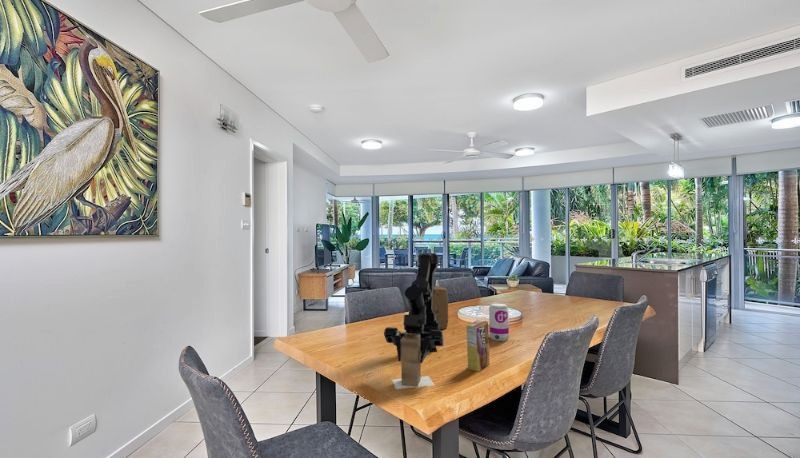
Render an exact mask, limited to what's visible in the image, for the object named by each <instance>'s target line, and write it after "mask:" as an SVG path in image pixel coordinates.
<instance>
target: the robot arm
mask: <svg viewBox="0 0 800 458" xmlns="http://www.w3.org/2000/svg"><path fill="white" fill-rule="evenodd" d="M439 264H440V256H439V255H437V252H421V253H420V254H417V265H418V268H417V273H416V278H415V280H413V281H412V282H411V284H410V286H409V287H407V288H406V290H405V291H404V296H405V297H404V298H405V301H406V305H407V308H408V309H409V310H408V313H407V314H403V324H402V325H403V330H404V332H403V331H400V330H399V329H398V327H391V326H389V327H388V326H387V327H386V328H385V329H384V332H383V337H384V338H385V342H386V343H388V344H392V345H394V346H395V347H396V351H397V357H398V358H397V359H398V362H399V363H400V362H401V339H402V337H403V336H404V335H405V334H410V335H420V363H421V364H423V362H424V360H425V359H426V357H427V356H428V354H429V353H430V352H438V348H437V347H444V333H443V331H442V329H439V324H438V322H437V320H436V316H435V314H434V312H433V310H432V306H433V287H434V276H435V275H434V274H435V273H436V272H437V270H438V269H439V268H438V265H439Z"/></svg>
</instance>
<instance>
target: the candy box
mask: <svg viewBox="0 0 800 458" xmlns="http://www.w3.org/2000/svg"><path fill="white" fill-rule="evenodd" d="M489 338H490V336H489V320H488V321H487V320H482V319H481V320H480V319H478V320H475V321H474V322H470V323H469V324H468V323H467V324H466V347H467V348H466V350H467V351H466V352H467V353H466V354H467V369H468V370H471V371H475V372H478V373H479V372H480V371H482V370H483V369H485V368H486V367H488V366H489V365H491V364H490V363H491V362H490V342H489Z"/></svg>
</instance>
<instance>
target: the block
mask: <svg viewBox="0 0 800 458" xmlns="http://www.w3.org/2000/svg"><path fill="white" fill-rule="evenodd" d="M447 289H448V288H446V287H444V286H433V306H432V310H433V312H434V314H435V316H436V320H437V322H438V324H439V330H445V329H447V328H448V324H449V299H448V298H449V296H448V290H447Z"/></svg>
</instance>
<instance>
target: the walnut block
mask: <svg viewBox="0 0 800 458" xmlns="http://www.w3.org/2000/svg"><path fill="white" fill-rule="evenodd" d="M420 359H421V351H420V335H410V334H405V335H404V336H403V337H402V339H401V361H400V362H401V379H402V385H407V386H417V387H416V388H419V387H418V385H419V382H420V380H421V377H422V376H421V364H422V363H420Z"/></svg>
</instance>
